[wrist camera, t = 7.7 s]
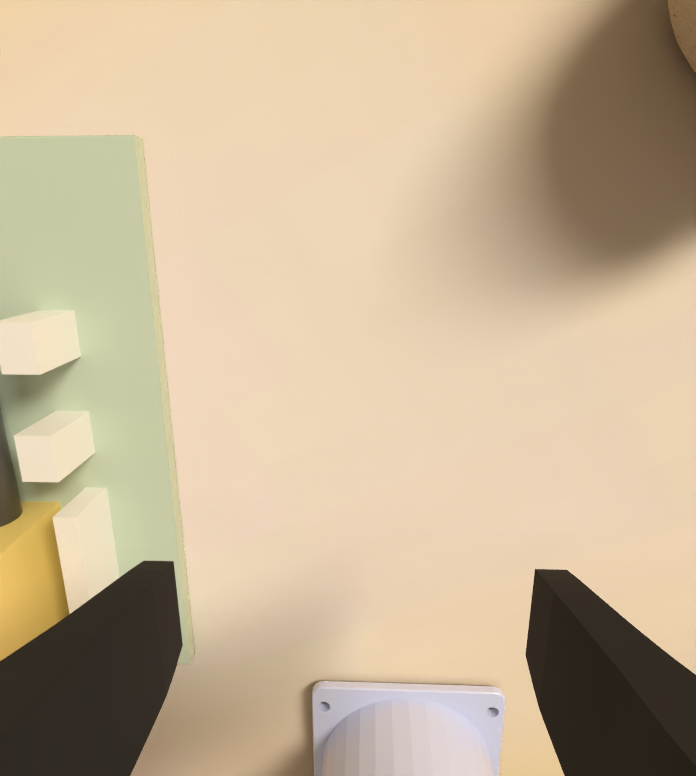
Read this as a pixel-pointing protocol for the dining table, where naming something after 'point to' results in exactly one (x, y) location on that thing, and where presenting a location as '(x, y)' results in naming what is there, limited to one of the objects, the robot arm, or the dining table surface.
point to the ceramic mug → (684, 27)
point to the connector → (26, 562)
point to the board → (88, 359)
